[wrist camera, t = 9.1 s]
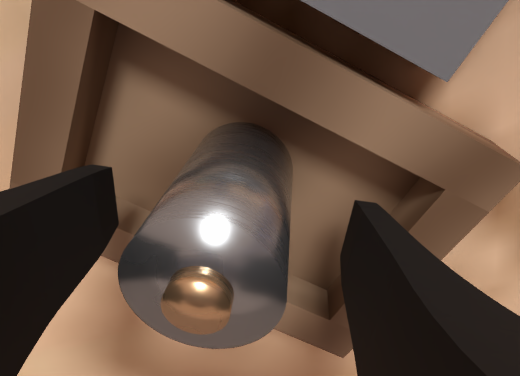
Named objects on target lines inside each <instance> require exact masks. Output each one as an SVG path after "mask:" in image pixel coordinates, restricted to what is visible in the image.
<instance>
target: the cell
mask: <svg viewBox="0 0 520 376" xmlns="http://www.w3.org/2000/svg"><path fill="white" fill-rule="evenodd" d="M292 180H293V165H292V160H291V156H290V154H289V152H288V150H287V148H286V146H285V145H284V143H283V142H282V141H281V140H280V139H279V138H278V137H277V136H276V135H275V134H274V133H272V132H271V131H269V130H268V129H266V128H264V127H261V126H259V125H256V124H252V123H246V122H234V123H228V124H224V125H222V126H219V127H217V128H216V129H214V130H212V131H211V132H210V133H208V134H207V135H206V136H205V137H204V139H203V140H202V141H201V143H200V144H199V146H198V147H197V148H196V150H195V151H194V153H193V154H192V155H191V157H190V158H189V160H188V161H187V162H186V164H185V165H184V167H183V168H182V169H181V171H180V172H179V174H178V175H177V176H176V178H175V179H174V181H173V182H172V183H171V185H170V186H169V188H168V189H167V190H166V192H165V193H164V195H163V196H162V197H161V199H160V200H159V202H158V203H157V204H156V206H155V207H154V209H153V210H152V211H151V213H150V214H149V216H148V217H147V218H146V220H145V221H144V223H143V224H142V225H141V227H140V228H139V230H138V231H137V232H136V234H135V235H134V237H133V238H132V239H131V241H130V242H129V244H128V245H127V246H126V248H125V249H124V251H123V253H122V255H121V258H120V261H119V265H118V279H119V285H120V288H121V291H122V294H123V296H124V298H125V300H126V302H127V303H128V305H129V306H130V308H131V309H132V310H133V311H134V313H135V314H136V315H137V316H138V317H139V318H140V319H141V320H142V321H143V322H145V323H146V324H147V325H148V326H150V327H151V328H153V329H154V330H156V331H157V332H159V333H161V334H162V335H164V336H166V337H168V338H171V339H173V340H175V341H178V342H181V343H184V344H187V345H191V346H196V347H202V348H211V349H225V348H234V347H239V346H243V345H246V344H249V343H252V342H254V341H256V340H259V339H260V338H262V337H264V336H265V335H267V334H268V333H269V332H270V331H271V330H273V328H274V327H275V326H276V325H277V324H278V322H279V321H280V319H281V318H282V316H283V313H284V311H285V307H286V303H287V286H288V265H289V244H290V223H291V202H292Z"/></svg>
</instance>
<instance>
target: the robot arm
mask: <svg viewBox="0 0 520 376" xmlns="http://www.w3.org/2000/svg"><path fill="white" fill-rule="evenodd" d="M118 225H119V220H118V212H117V204H116V195H115V187H114V179H113V171H112V167H107V166H100V165H93V164H92V165H87V166H82V167H78V168H75V169H71V170H68V171H65V172H61V173H58V174H55V175H52V176H49V177H46V178H43V179H40V180H36V181H33V182H30V183H27V184H24V185H21V186H18V187H15V188H11V189H8V190H4V191H1V192H0V376H17V374H18V373H19V371H20V369H21V368H22V366H23V364H24V362H25V361H26V359H27V357H28V356H29V354H30V353H31V351H32V349H33V348H34V346H35V345H36V343H37V341H38V340H39V338H40V337H41V335H42V333H43V332H44V330H45V329H46V327H47V325H48V324H49V323H50V321H51V320H52V318H53V317H54V316H55V314H56V313H57V311H58V310H59V309H60V307H61V306H62V305H63V304H64V302H65V301H66V300H67V298H68V297H69V296H70V295H71V293H72V292H73V291H74V289H75V288H76V287H77V286H78V284H79V283H80V282H81V280H82V279H83V278H84V277H85V275H86V274H87V273H88V271H89V270H90V269H91V268H92V266H93V265H94V264H95V262H96V261H97V260H98V258H99V257H100V256H101V254H102V253H103V252H104V250H105V248H106V247H107V245H108V243H109V242H110V240H111V238H112V236H113V234H114V232H115V231H116V229H117V227H118ZM340 268H341V286H342V292H343V297H344V303H345V308H346V313H347V319H348V324H349V329H350V334H351V340H352V345H353V350H354V355H355V362H356V369H357V376H520V316H518V315H517V314H515V313H514V312H512V311H510V310H509V309H507V308H506V307H504V306H502V305H501V304H499V303H498V302H496V301H495V300H493V299H492V298H490V297H489V296H487V295H486V294H485V293H483V292H482V291H480V290H479V289H477V288H476V287H475V286H473V285H472V284H470V283H469V282H468V281H466V280H465V279H463V278H462V277H461V276H459V275H458V274H457V273H455V272H454V271H453V270H452V269H450V268H449V267H448V266H447V265H446V264H444V263H443V262H442V261H441V260H439V259H438V258H437V257H436V256H435V255H433V254H432V253H431V252H430V251H429V250H428V249H426V248H425V247H424V246H423V245H422V244H421V243H420V242H418V241H417V240H416V239H415V238H414V237H413V236H412V235H411V234H410V233H409V232H408V231H407V230H405V229H404V228H403V227H402V226H401V225H400V224H399V223H398V222H397V221H396V220H395V219H394V218H393V217H392V216H391V215H390V214H389V213H387V212H386V211H385V210H384V209H383V208H382V207H381V206H380V205H378V204H377V203H374V202H366V201H359V200H355V201H354V205H353V209H352V212H351V216H350V220H349V224H348V227H347V231H346V235H345V239H344V242H343V246H342V250H341V254H340Z"/></svg>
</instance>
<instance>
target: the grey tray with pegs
mask: <svg viewBox="0 0 520 376" xmlns="http://www.w3.org/2000/svg"><path fill="white" fill-rule="evenodd" d="M301 1H302V2H304V3H306V4H308V5H310V6H311V7H313V8H315V9H317V10H319V11H320V12H322V13H324V14H326V15H328V16H329V17H331V18H333V19H335V20H336V21H338V22H340V23H342V24H344V25H345V26H347V27H349V28H351V29H353V30H354V31H356V32H358V33H360V34H362V35H363V36H365V37H367V38H369V39H371V40H372V41H374V42H376V43H378V44H379V45H381V46H383V47H385V48H387V49H388V50H390V51H392V52H394V53H396V54H397V55H399V56H401V57H403V58H405V59H406V60H408V61H410V62H412V63H413V64H415V65H417V66H419V67H421V68H422V69H424V70H426V71H428V72H430V73H432V74H433V75H435V76H437V77H439V78H441V79H442V80H444V81H446V82H448V81H449V79H450V78H451V77H452V75H453V74H454V73H455V71H456V70H457V69H458V67H459V66H460V65H461V63H462V62H463V61H464V59H465V58H466V57H467V55H468V54H469V53H470V51H471V50H472V48H473V47H474V46H475V44H476V43H477V42H478V40H479V39H480V38H481V36H482V35H483V34H484V32H485V31H486V30H487V28H488V27H489V26H490V24H491V23H492V22H493V20H494V19H495V18H496V16H497V15H498V14H499V12H500V11H501V10H502V8H503V7H504V6H505V4H506V3H507V2H508V0H301Z"/></svg>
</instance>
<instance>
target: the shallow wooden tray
mask: <svg viewBox="0 0 520 376" xmlns="http://www.w3.org/2000/svg"><path fill="white" fill-rule="evenodd" d="M234 122H246V123H252V124H256V125H259V126H261V127H264V128H266V129H268V130H269V131H271V132H272V133H274V134H275V135H276V136H277V137H278V138H279V139H280V140H281V141H282V142H283V143H284V145H285V146H286V148H287V150H288V152H289V154H290V156H291V160H292V165H293V180H292V202H291V223H290V244H289V265H288V286H287V303H286V307H285V311H284V313H283V316H282V318H281V319H280V321H279V322H278V324H277V325H276V326H275V327H274V328H273V329H276V330H278V331H280V332H283V333H285V334H287V335H290V336H292V337H295V338H297V339H299V340H302V341H304V342H306V343H309V344H311V345H313V346H316V347H318V348H321V349H323V350H325V351H328V352H330V353H332V354H335V355H337V356H339V357H342V358H344V357H345V356H346V355H347V354H348V353H349V352H350V351H351V350H352V349H353V345H352V340H351V334H350V329H349V324H348V319H347V313H346V308H345V303H344V297H343V292H342V286H341V268H340V254H341V250H342V246H343V242H344V239H345V235H346V231H347V227H348V224H349V220H350V216H351V212H352V209H353V205H354V201H355V200H359V201H366V202H374V203H377V204H378V205H380V206H381V207H382V208H383V209H384V210H385V211H386V212H387V213H389V214H390V215H391V216H392V217H393V218H394V219H395V220H396V221H397V222H398V223H399V224H400V225H401V226H402V227H403V228H404V229H405V230H407V231H408V232H409V233H410V234H411V235H412V236H413V237H414V238H415V239H416V240H417V241H418V242H420V243H421V244H422V245H423V246H424V247H425V248H426V249H428V250H429V251H430V252H431V253H432V254H433V255H435V256H436V257H437V258H438V259H439V260H442V259H443V258H444V257H445V256H446V255H447V254H448V253H449V252H450V251H451V250H452V249H453V248H454V247H455V246H456V245H457V244H458V243H459V242H460V241H461V240H462V239H463V238H464V237H465V236H466V235H467V234H468V233H469V232H470V231H471V230H472V229H473V228H474V227H475V226H476V225H477V224H478V223H479V222H480V221H481V220H482V219H483V218H484V217H485V216H486V215H487V214H488V213H489V212H490V211H491V210H492V209H493V208H494V207H495V206H496V205H497V204H498V203H499V202H500V201H501V200H502V199H503V198H504V197H505V196H506V195H507V194H508V193H509V192H510V191H511V190H512V189H513V188H514V187H515V186H516V185H517V184H518V183H519V182H520V162H519V161H518V160H516V159H515V158H514V157H512V156H511V155H510V154H508V153H507V152H506V151H504V150H503V149H501V148H500V147H499V146H497V145H496V144H495V143H493V142H492V141H491V140H489V139H487V138H485V137H483V136H481V135H480V134H478V133H476V132H474V131H472V130H470V129H469V128H467V127H465V126H463V125H461V124H459V123H457V122H456V121H454V120H452V119H450V118H448V117H446V116H445V115H443V114H441V113H439V112H437V111H435V110H434V109H432V108H430V107H428V106H426V105H424V104H423V103H421V102H419V101H417V100H415V99H413V98H411V97H410V96H408V95H406V94H404V93H402V92H400V91H399V90H397V89H395V88H393V87H391V86H389V85H388V84H386V83H384V82H382V81H380V80H378V79H377V78H375V77H373V76H371V75H369V74H367V73H366V72H364V71H362V70H360V69H358V68H356V67H354V66H353V65H351V64H349V63H347V62H345V61H343V60H342V59H340V58H338V57H336V56H334V55H332V54H331V53H329V52H327V51H325V50H323V49H321V48H320V47H318V46H316V45H314V44H312V43H310V42H309V41H307V40H305V39H303V38H301V37H299V36H297V35H296V34H294V33H292V32H290V31H288V30H286V29H285V28H283V27H281V26H279V25H277V24H275V23H274V22H272V21H270V20H268V19H266V18H264V17H263V16H261V15H259V14H257V13H255V12H253V11H252V10H250V9H248V8H246V7H244V6H242V5H240V4H239V3H237V2H235V1H233V0H32V4H31V13H30V21H29V30H28V38H27V46H26V55H25V63H24V71H23V80H22V88H21V96H20V105H19V113H18V122H17V130H16V138H15V147H14V155H13V163H12V172H11V180H10V188H9V189H11V188H15V187H18V186H21V185H24V184H27V183H30V182H33V181H36V180H40V179H43V178H46V177H49V176H52V175H55V174H58V173H61V172H65V171H68V170H71V169H75V168H78V167H82V166H87V165H92V164H93V165H100V166H107V167H112V171H113V179H114V187H115V195H116V204H117V212H118V220H119V225H118V227H117V229H116V231H115V232H114V234H113V236H112V238H111V240H110V242H109V243H108V245H107V247H106V248H105V250H104V252H103V253H102V254H101V256H103V257H106V258H108V259H110V260H113V261H115V262H117V263H119V261H120V258H121V255H122V253H123V251H124V249H125V248H126V246H127V245H128V244H129V242H130V241H131V239H132V238H133V237H134V235H135V234H136V232H137V231H138V230H139V228H140V227H141V225H142V224H143V223H144V221H145V220H146V218H147V217H148V216H149V214H150V213H151V211H152V210H153V209H154V207H155V206H156V204H157V203H158V202H159V200H160V199H161V197H162V196H163V195H164V193H165V192H166V190H167V189H168V188H169V186H170V185H171V183H172V182H173V181H174V179H175V178H176V176H177V175H178V174H179V172H180V171H181V169H182V168H183V167H184V165H185V164H186V162H187V161H188V160H189V158H190V157H191V155H192V154H193V153H194V151H195V150H196V148H197V147H198V146H199V144H200V143H201V141H202V140H203V139H204V137H205V136H206V135H207V134H208V133H210V132H211V131H212V130H214V129H216V128H217V127H219V126H222V125H224V124H228V123H234Z"/></svg>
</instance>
